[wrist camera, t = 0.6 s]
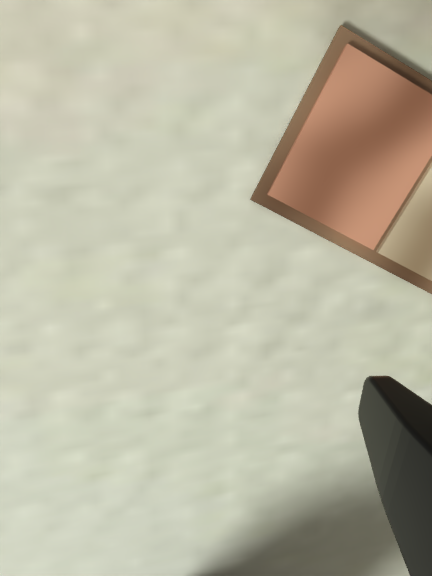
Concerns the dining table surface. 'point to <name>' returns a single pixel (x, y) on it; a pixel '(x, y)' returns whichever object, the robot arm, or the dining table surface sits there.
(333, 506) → the dining table surface
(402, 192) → the board
